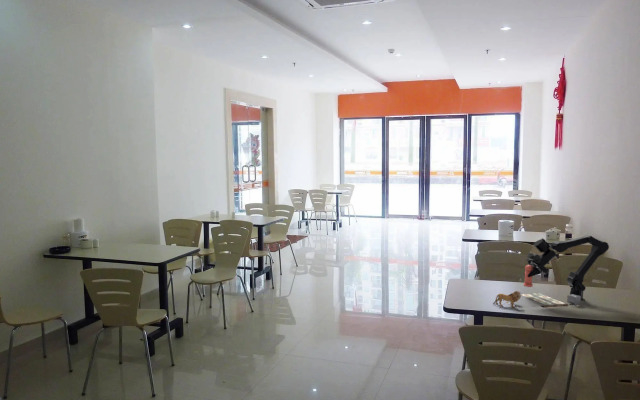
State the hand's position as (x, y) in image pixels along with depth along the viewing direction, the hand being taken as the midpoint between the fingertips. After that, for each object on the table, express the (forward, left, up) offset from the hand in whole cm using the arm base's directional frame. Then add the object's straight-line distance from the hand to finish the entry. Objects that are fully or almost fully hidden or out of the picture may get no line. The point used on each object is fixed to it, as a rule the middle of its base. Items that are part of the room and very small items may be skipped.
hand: (526, 275), depth 286 cm
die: (-19, +17, -13) cm, 29 cm away
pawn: (-1, 0, -6) cm, 6 cm away
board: (-5, +8, -13) cm, 17 cm away
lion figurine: (+21, +12, -14) cm, 28 cm away
